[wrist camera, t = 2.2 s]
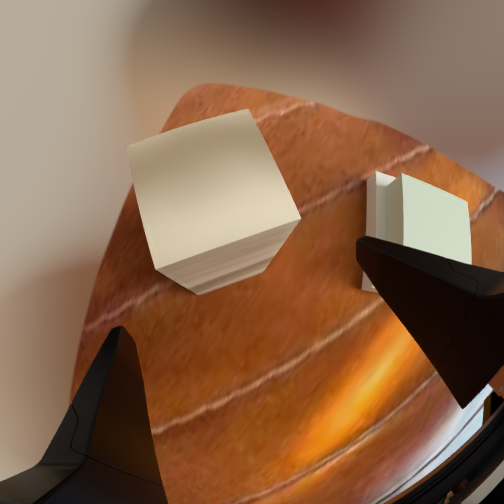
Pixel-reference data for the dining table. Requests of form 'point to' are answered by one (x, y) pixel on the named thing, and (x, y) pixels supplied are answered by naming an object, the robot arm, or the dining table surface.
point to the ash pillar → (211, 201)
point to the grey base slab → (376, 214)
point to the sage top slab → (428, 219)
